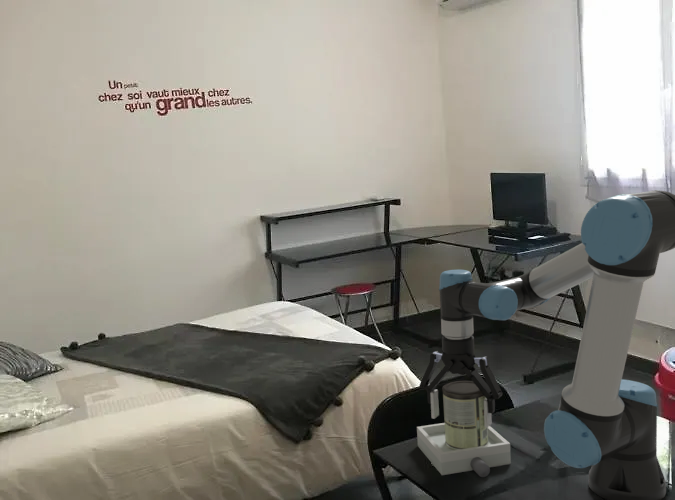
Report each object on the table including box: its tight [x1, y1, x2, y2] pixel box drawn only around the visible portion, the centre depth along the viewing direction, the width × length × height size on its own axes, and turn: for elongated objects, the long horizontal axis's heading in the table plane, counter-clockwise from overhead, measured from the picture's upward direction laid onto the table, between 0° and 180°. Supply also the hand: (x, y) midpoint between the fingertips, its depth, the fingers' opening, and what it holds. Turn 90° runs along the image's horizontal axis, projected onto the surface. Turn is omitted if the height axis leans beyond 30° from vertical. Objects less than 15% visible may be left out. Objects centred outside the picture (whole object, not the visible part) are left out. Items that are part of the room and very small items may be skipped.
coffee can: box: [441, 380, 488, 450], centre depth 166 cm, size 10×10×14 cm
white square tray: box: [416, 422, 512, 478], centre depth 166 cm, size 21×17×5 cm
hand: (461, 421), depth 167 cm, fingers open, 13 cm apart
